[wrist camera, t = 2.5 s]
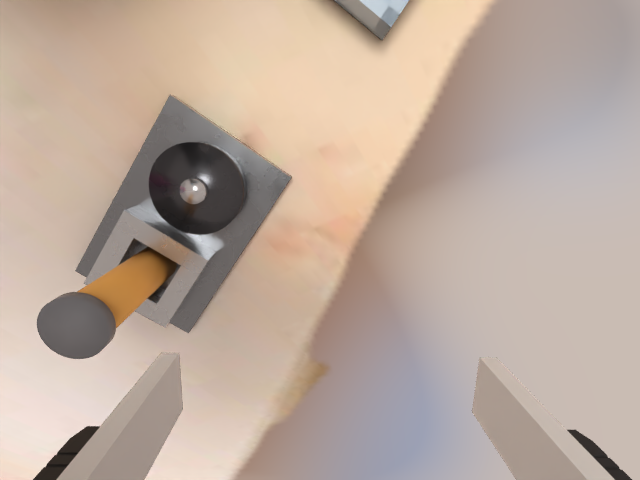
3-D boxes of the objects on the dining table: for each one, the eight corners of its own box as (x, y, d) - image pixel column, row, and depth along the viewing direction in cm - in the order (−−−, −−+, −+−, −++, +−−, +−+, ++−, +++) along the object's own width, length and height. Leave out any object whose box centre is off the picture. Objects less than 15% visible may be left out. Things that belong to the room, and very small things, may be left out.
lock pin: (128, 267, 37) (26, 337, 24) (148, 232, 36) (53, 285, 23) (167, 289, 38) (90, 369, 24) (188, 256, 37) (119, 320, 23)
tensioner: (82, 267, 38) (52, 283, 34) (174, 96, 34) (154, 89, 29) (191, 327, 41) (177, 350, 36) (291, 176, 36) (289, 181, 32)
